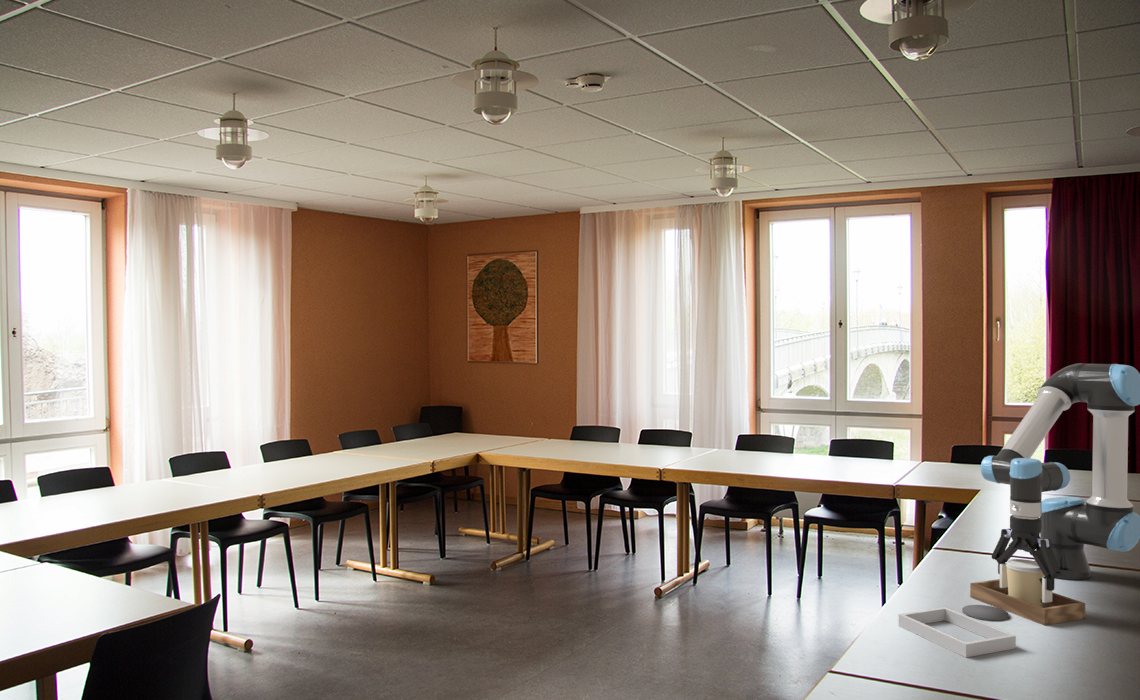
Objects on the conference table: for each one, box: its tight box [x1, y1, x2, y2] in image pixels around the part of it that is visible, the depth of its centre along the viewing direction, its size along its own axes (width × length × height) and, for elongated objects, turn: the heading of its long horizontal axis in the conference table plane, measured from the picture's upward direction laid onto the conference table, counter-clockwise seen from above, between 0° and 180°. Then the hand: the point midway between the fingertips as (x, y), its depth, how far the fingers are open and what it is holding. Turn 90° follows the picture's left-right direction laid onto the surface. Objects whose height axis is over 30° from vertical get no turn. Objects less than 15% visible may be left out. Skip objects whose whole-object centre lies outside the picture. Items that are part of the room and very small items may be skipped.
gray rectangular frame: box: [898, 606, 1017, 658], centre depth 205 cm, size 15×22×3 cm
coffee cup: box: [1005, 558, 1045, 607], centre depth 225 cm, size 9×9×12 cm
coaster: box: [962, 604, 1010, 622], centre depth 221 cm, size 11×11×1 cm
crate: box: [969, 578, 1086, 626], centre depth 225 cm, size 14×24×4 cm, turn 19°
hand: (1025, 594), depth 225 cm, fingers open, 13 cm apart
